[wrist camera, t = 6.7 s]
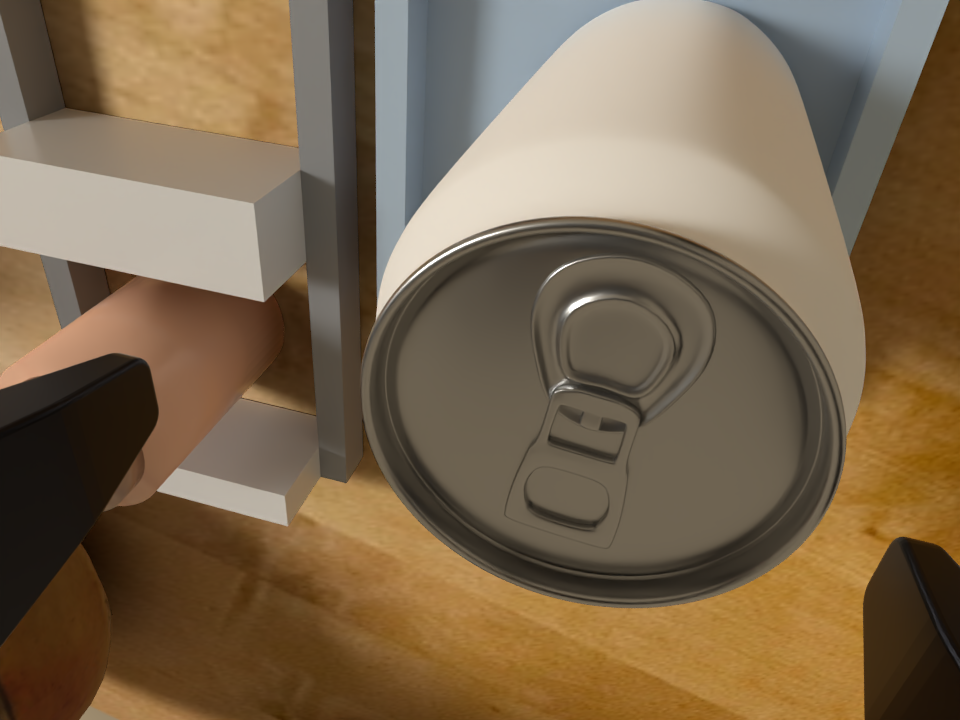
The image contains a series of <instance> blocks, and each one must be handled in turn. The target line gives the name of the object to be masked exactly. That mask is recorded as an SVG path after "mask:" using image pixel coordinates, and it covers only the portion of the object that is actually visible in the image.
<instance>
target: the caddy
mask: <svg viewBox="0 0 960 720" xmlns="http://www.w3.org/2000/svg"><path fill="white" fill-rule="evenodd" d="M289 8H290V23H291V38H292V53H293V68H294V84H295V99H296V114H297V129H298V144H299V148H296V147H291V146H285V145H279V144H273V143H267V142H262V141H256V140H250V139H244V138H238V137H232V136H227V135H221V134H215V133H209V132H203V131H197V130H192V129H186V128H180V127H174V126H168V125H163V124H157V123H151V122H145V121H139V120H133V119H128V118H122V117H116V116H110V115H104V114H98V113H93V112H87V111H81V110H75V109H69V108H65V104H64V100H63V96H62V92H61V87H60V83H59V79H58V75H57V71H56V66H55V62H54V58H53V54H52V50H51V45H50V41H49V37H48V33H47V29H46V25H45V20H44V16H43V12H42V8H41V4H40V0H0V118H1V121H2V125H3V128H4V131H3V132H0V246H3V247H8V248H12V249H17V250H22V251H26V252H31V253H36V254H40V256H41V260H42V263H43V267H44V270H45V273H46V277H47V280H48V284H49V287H50V291H51V294H52V298H53V301H54V305H55V308H56V312H57V315H58V318H59V322H60V325H61V329H63V328H65V327H66V326H67V325H69V324H70V323H72V322H73V321H74V320H76V319H77V318H79V317H80V316H81V315H83V314H84V313H86V312H87V311H88V310H90V309H91V308H93V307H94V306H96V305H97V304H98V303H100V302H101V301H103V300H104V299H105V298H107V297H108V296H110V293H109V289H108V284H107V280H106V276H105V272H104V268H106V269H111V270H116V271H120V272H125V273H130V274H134V275H139V276H144V277H148V278H153V279H158V280H163V281H167V282H172V283H177V284H181V285H186V286H191V287H195V288H200V289H205V290H209V291H214V292H219V293H224V294H228V295H233V296H238V297H242V298H247V299H252V300H256V301H261V302H265V301H266V300H267V299H268V298H269V297H270V296H271V295H272V294H273V293H274V292H275V291H276V290H277V289H278V288H279V287H281V286H282V285H283V284H284V283H285V282H286V281H287V280H288V279H289V278H290V277H291V276H292V275H293V274H294V273H295V272H296V271H297V270H298V269H299V268H300V267H301V266H302V265H303V264H304V263H305V262H306V264H307V279H308V294H309V309H310V324H311V339H312V355H313V370H314V385H315V400H316V415H317V416H313V415H309V414H305V413H301V412H296V411H292V410H288V409H284V408H280V407H276V406H271V405H267V404H263V403H259V402H255V401H250V400H246V399H242V398H240V399H239V400H238V401H237V402H236V403H235V404H234V405H233V406H232V408H231V409H230V410H229V411H228V412H227V413H226V414H225V415H224V416H223V418H222V419H221V420H220V421H219V422H218V423H217V424H216V425H215V426H214V427H213V429H212V430H211V431H210V432H209V433H208V434H207V435H206V436H205V437H204V439H203V440H202V441H201V442H200V443H199V444H198V445H197V446H196V447H195V449H194V450H193V451H192V452H191V453H190V454H189V455H188V456H187V457H186V459H185V460H184V461H183V462H182V463H181V464H180V465H179V466H178V467H177V469H176V470H175V471H174V472H173V473H172V474H171V475H170V476H169V477H168V478H167V480H166V481H165V482H164V483H163V484H162V485H161V486H160V487H159V488H158V490H157V491H158V492H162V493H166V494H170V495H173V496H177V497H181V498H184V499H188V500H192V501H196V502H199V503H203V504H207V505H210V506H214V507H218V508H222V509H225V510H229V511H233V512H236V513H240V514H244V515H247V516H251V517H255V518H259V519H262V520H266V521H270V522H273V523H277V524H281V525H285V526H288V525H289V524H290V522H291V521H292V519H293V518H294V516H295V515H296V513H297V512H298V510H299V509H300V507H301V506H302V504H303V503H304V501H305V500H306V498H307V497H308V495H309V493H310V492H311V490H312V489H313V487H314V486H315V484H316V483H317V481H318V480H319V478H320V477H324V478H328V479H332V480H336V481H340V482H344V483H347V482H348V480H349V479H350V477H351V475H352V474H353V472H354V470H355V469H356V467H357V465H358V464H359V462H360V460H361V459H362V457H363V431H362V413H361V405H360V373H361V342H360V297H359V252H358V207H357V162H356V117H355V72H354V27H353V0H289Z"/></svg>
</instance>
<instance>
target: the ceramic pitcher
mask: <svg viewBox="0 0 960 720" xmlns="http://www.w3.org/2000/svg"><path fill="white" fill-rule="evenodd" d="M111 615H112V612H111V609H110V606H109V602H108V599H107V596H106V594H105V591H104V588H103V586H102V584H101V581H100V579H99V577H98V575H97V573H96V571H95V569H94V567H93V564H92V562H91V559H90V557H89V556H88V554H87V552H86V551H85V549H84V547H83V546H82V544H81V543H80V545H79V546H78V547H77V549H76V550H75V551H74V552H73V554H72V555H71V556H70V558H69V559H68V560H67V562H66V563H65V564H64V565H63V567H62V568H61V569H60V571H59V572H58V573H57V575H56V576H55V577H54V578H53V580H52V581H51V582H50V584H49V585H48V586H47V588H46V589H45V590H44V591H43V593H42V594H41V595H40V597H39V598H38V599H37V601H36V602H35V603H34V605H33V606H32V607H31V608H30V610H29V611H28V612H27V614H26V615H25V616H24V618H23V619H22V620H21V621H20V623H19V624H18V625H17V627H16V628H15V629H14V631H13V632H12V633H11V634H10V636H9V637H8V638H7V640H6V641H5V642H4V644H3V645H2V646H1V647H0V720H79V719H80V718H81V716H82V715H83V714H84V712H85V711H86V710H87V708H88V707H89V706H90V704H91V703H92V701H93V699H94V697H95V695H96V693H97V691H98V689H99V687H100V685H101V683H102V681H103V678H104V674H105V671H106V667H107V662H108V655H109V649H110V642H111Z"/></svg>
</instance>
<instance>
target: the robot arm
mask: <svg viewBox="0 0 960 720" xmlns="http://www.w3.org/2000/svg"><path fill="white" fill-rule="evenodd" d="M158 417H159V406H158V402H157V397H156V392H155V388H154V383H153V379H152V374H151V369H150V366H149V365H148V363H147V362H146V361H145V360H143V359H142V358H139V357H135V356H131V355H126V354H122V353H110V354H107V355H104V356H100V357H97V358H94V359H91V360H88V361H85V362H82V363H79V364H76V365H73V366H70V367H67V368H64V369H61V370H58V371H55V372H52V373H49V374H46V375H42V376H39V377H36V378H33V379H30V380H27V381H24V382H21V383H18V384H15V385H12V386H9V387H6V388H3V389H0V647H1V646H2V645H3V644H4V642H5V641H6V640H7V638H8V637H9V636H10V634H11V633H12V632H13V631H14V629H15V628H16V627H17V625H18V624H19V623H20V621H21V620H22V619H23V618H24V616H25V615H26V614H27V612H28V611H29V610H30V608H31V607H32V606H33V605H34V603H35V602H36V601H37V599H38V598H39V597H40V595H41V594H42V593H43V591H44V590H45V589H46V588H47V586H48V585H49V584H50V582H51V581H52V580H53V578H54V577H55V576H56V575H57V573H58V572H59V571H60V569H61V568H62V567H63V565H64V564H65V563H66V562H67V560H68V559H69V558H70V556H71V555H72V554H73V552H74V551H75V550H76V549H77V547H78V546H79V545H80V543H81V542H82V541H83V539H84V538H85V537H86V535H87V534H88V533H89V531H90V530H91V529H92V527H93V526H94V524H95V523H96V521H97V520H98V518H99V517H100V515H101V514H102V512H103V511H104V509H105V508H106V506H107V505H108V503H109V501H110V500H111V498H112V497H113V495H114V493H115V492H116V490H117V488H118V487H119V485H120V484H121V482H122V480H123V479H124V477H125V476H126V474H127V472H128V471H129V469H130V467H131V466H132V464H133V463H134V461H135V459H136V458H137V456H138V454H139V453H140V451H141V450H142V448H143V446H144V445H145V443H146V442H147V440H148V438H149V437H150V435H151V433H152V432H153V430H154V428H155V426H156V424H157V421H158ZM863 638H864V712H865V720H960V566H959V565H958V564H957V563H956V562H955V561H954V560H953V559H952V558H951V557H950V555H949V554H948V553H947V552H946V551H945V550H944V549H943V548H941V547H940V546H938V545H936V544H933V543H929V542H924V541H920V540H916V539H912V538H907V537H899V538H896V539H895V540H894V541H893V542H892V543H891V544H890V545H889V547H888V549H887V551H886V553H885V554H884V556H883V558H882V560H881V562H880V563H879V565H878V567H877V569H876V571H875V572H874V574H873V576H872V578H871V580H870V581H869V583H868V585H867V588H866V591H865V595H864V601H863Z"/></svg>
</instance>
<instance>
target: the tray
mask: <svg viewBox="0 0 960 720" xmlns="http://www.w3.org/2000/svg"><path fill="white" fill-rule="evenodd" d="M634 1H639V0H375V95H376V235H377V304H378V297H379V291H380V286H381V282H382V279H383V275H384V272H385V269H386V266H387V263H388V261H389V259H390V256H391V254H392V252H393V250H394V248H395V246H396V244H397V242H398V240H399V238H400V237H401V235H402V233H403V231H404V229H405V228H406V226H407V224H408V223H409V221H410V220H411V218H412V217H413V215H414V214H415V213H416V211H417V210H418V209H419V207H420V206H421V205H422V203H423V202H424V201H425V200H426V198H427V197H428V196H429V194H430V193H431V192H432V191H433V189H434V188H435V187H436V186H437V185H438V183H439V182H440V181H441V180H442V179H443V178H444V176H445V175H446V174H447V173H448V172H449V171H450V169H451V168H452V167H453V166H454V165H455V164H456V162H457V161H458V160H459V159H460V158H461V157H462V155H463V154H464V153H465V152H466V151H467V150H468V149H469V147H470V146H471V145H472V144H473V143H474V142H475V141H476V139H477V138H478V137H479V136H480V135H481V134H482V133H483V131H484V130H485V129H486V128H487V127H488V126H489V125H490V124H491V122H492V121H493V120H494V119H495V118H496V117H497V116H498V115H499V113H500V112H501V111H502V110H503V109H504V108H505V107H506V105H507V104H508V103H509V102H510V101H511V100H512V99H513V98H514V96H515V95H516V94H517V93H518V92H519V91H520V90H521V89H522V88H523V86H524V85H525V84H526V83H527V82H528V81H529V80H530V79H531V78H532V76H533V75H534V74H535V73H536V72H537V71H538V70H539V69H540V68H541V67H542V65H543V64H544V63H545V62H546V61H547V60H548V59H549V58H550V57H551V56H552V55H553V53H554V52H555V51H556V50H557V49H558V48H559V47H560V46H561V45H562V44H563V43H564V42H565V41H566V40H567V39H568V38H569V37H570V36H572V35H573V34H574V33H575V32H576V31H577V30H579V29H580V28H581V27H582V26H584V25H585V24H587V23H588V22H590V21H591V20H593V19H594V18H596V17H598V16H599V15H601V14H603V13H605V12H607V11H609V10H611V9H614V8H616V7H618V6H621V5H624V4H627V3H630V2H634ZM704 1H709V2H713V3H716V4H719V5H722V6H725V7H728V8H730V9H732V10H734V11H736V12H738V13H740V14H741V15H743V16H744V17H746V18H747V19H748V20H750V21H751V22H752V23H753V24H754V25H756V26H757V27H758V28H759V29H760V30H761V31H762V32H763V33H764V34H765V35H766V36H767V37H768V38H769V39H770V40H771V41H772V43H773V44H774V45H775V46H776V48H777V49H778V50H779V52H780V53H781V54H782V56H783V57H784V59H785V61H786V62H787V64H788V66H789V68H790V70H791V72H792V74H793V77H794V79H795V81H796V84H797V87H798V89H799V92H800V95H801V98H802V101H803V104H804V107H805V110H806V114H807V117H808V120H809V123H810V126H811V130H812V133H813V136H814V139H815V143H816V146H817V149H818V153H819V156H820V159H821V162H822V166H823V169H824V173H825V176H826V179H827V183H828V186H829V189H830V193H831V196H832V199H833V203H834V206H835V210H836V213H837V217H838V220H839V223H840V227H841V230H842V234H843V237H844V241H845V244H846V248H847V252H848V255H849V256H850V254H851V251H852V249H853V246H854V243H855V241H856V238H857V236H858V233H859V231H860V228H861V225H862V223H863V220H864V218H865V215H866V213H867V210H868V208H869V205H870V202H871V200H872V197H873V195H874V192H875V190H876V187H877V184H878V182H879V179H880V177H881V174H882V172H883V169H884V166H885V164H886V161H887V159H888V156H889V154H890V151H891V148H892V146H893V143H894V141H895V138H896V136H897V133H898V131H899V128H900V125H901V123H902V120H903V118H904V115H905V113H906V110H907V107H908V105H909V102H910V100H911V97H912V95H913V92H914V89H915V87H916V84H917V82H918V79H919V77H920V74H921V71H922V69H923V66H924V64H925V61H926V59H927V56H928V54H929V51H930V48H931V46H932V43H933V41H934V38H935V36H936V33H937V30H938V28H939V25H940V23H941V20H942V18H943V15H944V12H945V10H946V7H947V5H948V2H949V0H704Z"/></svg>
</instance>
